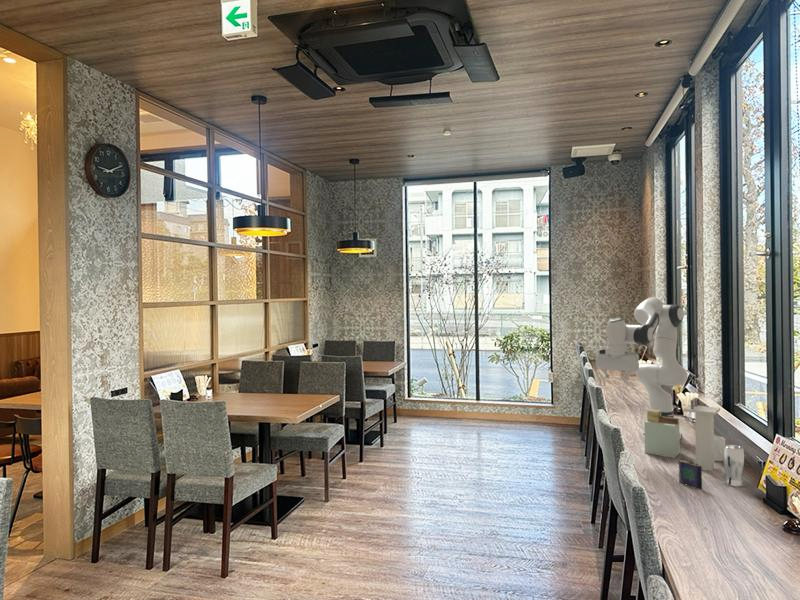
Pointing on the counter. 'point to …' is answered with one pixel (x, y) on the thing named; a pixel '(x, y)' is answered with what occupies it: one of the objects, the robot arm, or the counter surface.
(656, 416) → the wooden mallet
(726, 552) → the counter surface
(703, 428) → the tall stand
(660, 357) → the robot arm
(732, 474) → the beer glass
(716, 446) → the white cup
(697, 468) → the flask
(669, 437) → the sage pedestal
